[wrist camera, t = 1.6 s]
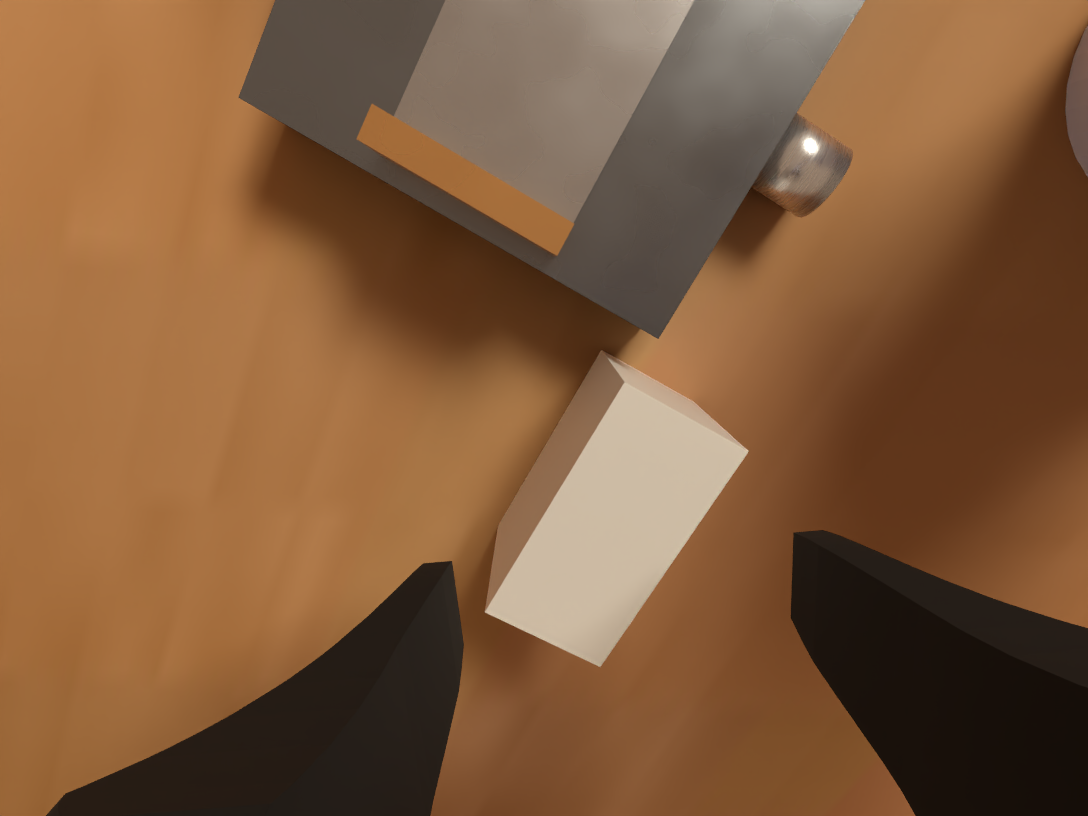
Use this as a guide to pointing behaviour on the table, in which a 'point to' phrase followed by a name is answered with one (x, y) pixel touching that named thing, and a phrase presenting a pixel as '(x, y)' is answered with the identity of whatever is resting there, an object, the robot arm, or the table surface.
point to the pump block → (606, 509)
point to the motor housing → (569, 121)
